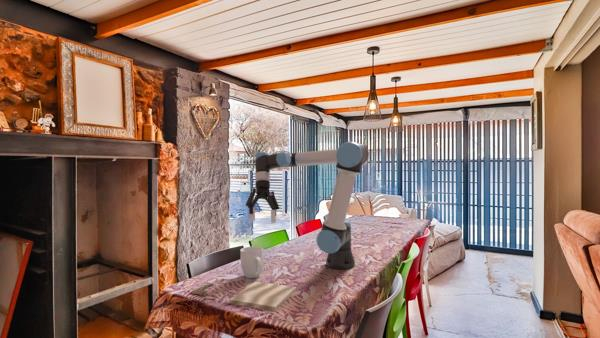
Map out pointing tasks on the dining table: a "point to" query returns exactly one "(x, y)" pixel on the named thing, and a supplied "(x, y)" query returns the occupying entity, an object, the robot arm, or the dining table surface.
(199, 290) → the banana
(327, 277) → the dining table surface
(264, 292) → the board
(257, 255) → the mug
